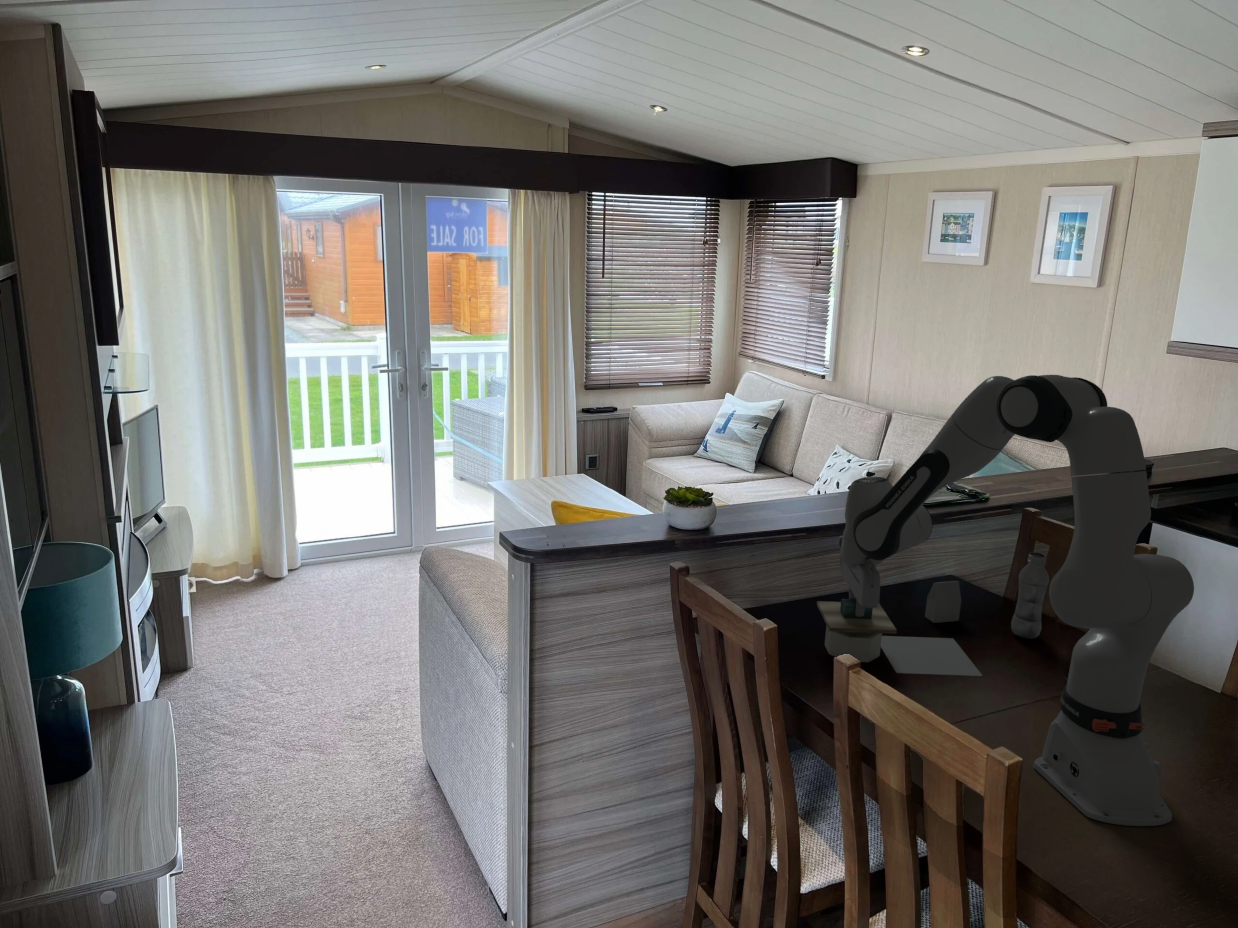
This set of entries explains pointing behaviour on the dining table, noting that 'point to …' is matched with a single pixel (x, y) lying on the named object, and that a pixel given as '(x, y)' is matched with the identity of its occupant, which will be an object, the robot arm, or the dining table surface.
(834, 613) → the board
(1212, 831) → the dining table surface
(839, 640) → the bowl
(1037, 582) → the plastic bottle
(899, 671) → the mat
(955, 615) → the dark grey block
